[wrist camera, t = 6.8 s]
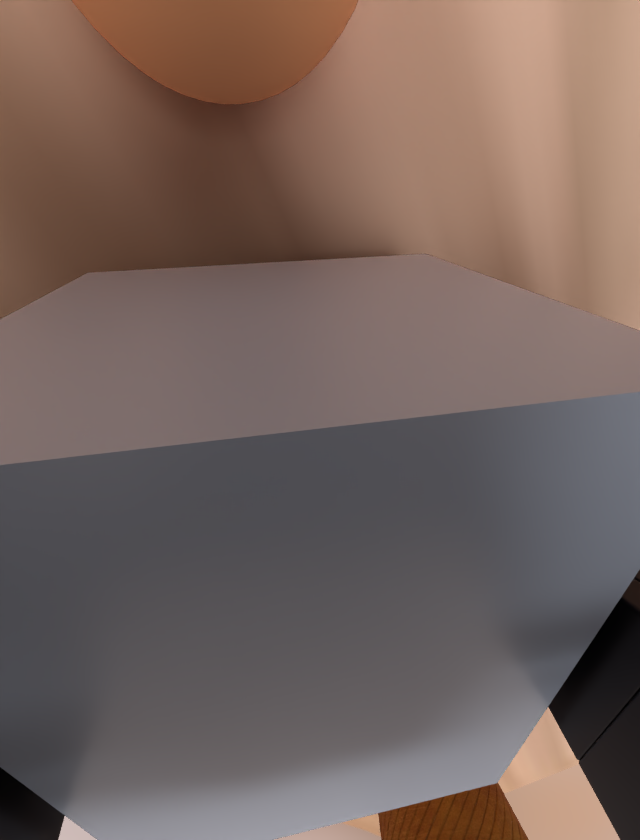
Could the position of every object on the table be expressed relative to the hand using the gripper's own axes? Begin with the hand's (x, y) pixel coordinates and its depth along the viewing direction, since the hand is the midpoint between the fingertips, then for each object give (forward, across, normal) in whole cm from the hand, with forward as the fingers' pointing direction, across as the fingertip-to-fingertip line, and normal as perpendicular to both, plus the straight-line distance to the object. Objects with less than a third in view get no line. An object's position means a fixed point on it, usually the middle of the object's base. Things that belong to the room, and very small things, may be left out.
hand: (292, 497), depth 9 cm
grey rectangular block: (+2, 0, 0) cm, 3 cm away
